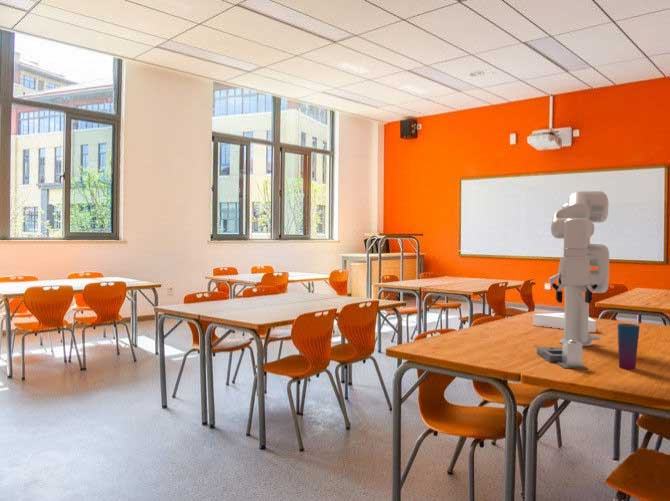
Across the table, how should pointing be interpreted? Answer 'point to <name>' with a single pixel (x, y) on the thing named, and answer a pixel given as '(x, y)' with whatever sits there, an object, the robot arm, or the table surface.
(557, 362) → the mat
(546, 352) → the dark grey flat block
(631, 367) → the cup
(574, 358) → the white upright block
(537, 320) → the flat white box
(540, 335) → the table surface
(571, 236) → the robot arm
